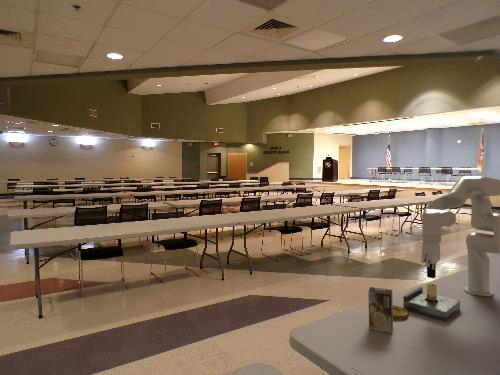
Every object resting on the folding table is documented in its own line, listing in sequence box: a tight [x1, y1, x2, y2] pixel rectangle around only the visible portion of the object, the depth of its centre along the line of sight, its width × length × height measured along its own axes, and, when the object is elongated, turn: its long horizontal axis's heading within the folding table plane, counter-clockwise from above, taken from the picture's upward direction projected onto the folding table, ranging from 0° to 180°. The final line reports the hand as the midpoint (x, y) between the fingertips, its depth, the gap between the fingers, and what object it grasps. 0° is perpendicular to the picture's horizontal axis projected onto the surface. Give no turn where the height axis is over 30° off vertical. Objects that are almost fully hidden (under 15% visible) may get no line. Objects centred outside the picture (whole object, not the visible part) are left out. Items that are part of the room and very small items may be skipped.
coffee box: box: [367, 286, 394, 334], centre depth 137 cm, size 9×6×16 cm
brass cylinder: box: [426, 282, 438, 303], centre depth 154 cm, size 4×4×10 cm
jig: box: [402, 286, 461, 323], centre depth 154 cm, size 18×18×6 cm
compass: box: [393, 304, 409, 321], centre depth 151 cm, size 12×12×2 cm
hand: (431, 277), depth 154 cm, fingers closed
